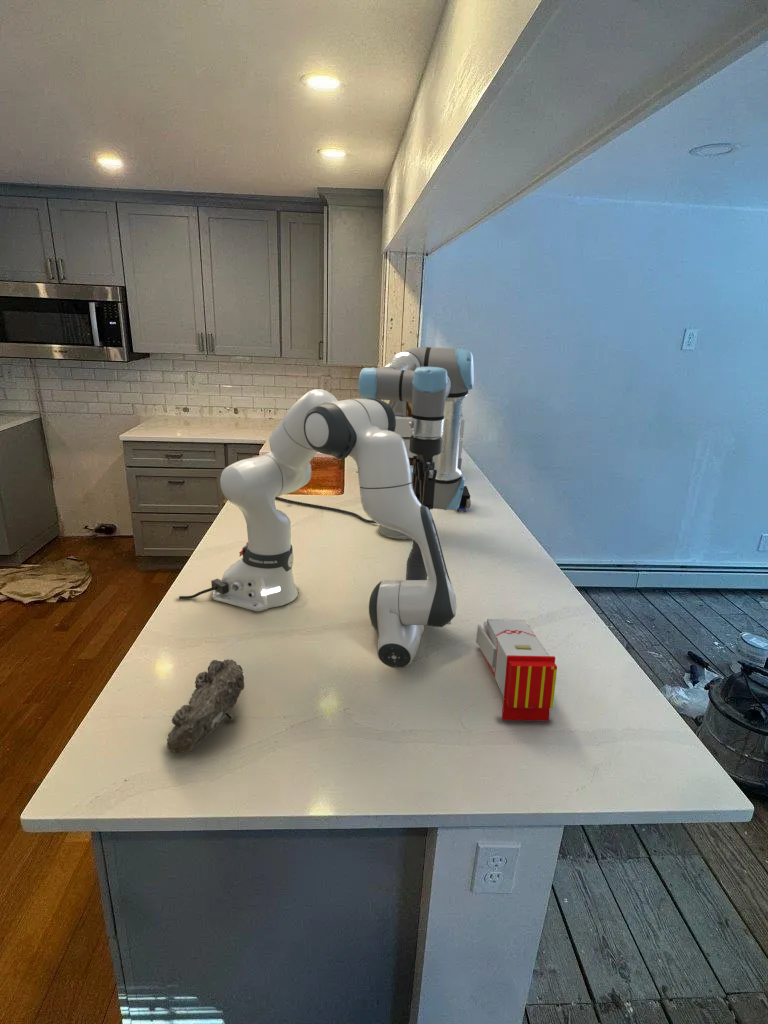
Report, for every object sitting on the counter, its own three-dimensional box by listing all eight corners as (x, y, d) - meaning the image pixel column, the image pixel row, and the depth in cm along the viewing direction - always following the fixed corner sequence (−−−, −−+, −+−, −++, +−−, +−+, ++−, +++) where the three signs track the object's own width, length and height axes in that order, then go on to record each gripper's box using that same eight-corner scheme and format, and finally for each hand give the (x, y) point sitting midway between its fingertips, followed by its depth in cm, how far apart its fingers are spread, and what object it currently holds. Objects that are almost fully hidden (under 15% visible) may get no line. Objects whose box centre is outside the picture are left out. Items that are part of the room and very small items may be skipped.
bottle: (399, 614, 147) (403, 540, 140) (413, 608, 151) (418, 535, 144) (413, 623, 144) (419, 546, 136) (428, 616, 147) (434, 541, 140)
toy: (523, 604, 135) (566, 662, 106) (518, 656, 138) (559, 727, 109) (472, 603, 135) (501, 661, 105) (468, 655, 138) (496, 726, 108)
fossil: (192, 660, 117) (244, 628, 112) (224, 691, 120) (276, 661, 115) (142, 746, 98) (202, 712, 93) (182, 779, 101) (242, 748, 96)
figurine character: (470, 516, 223) (465, 500, 237) (473, 499, 220) (467, 484, 233) (453, 516, 223) (449, 500, 236) (455, 498, 220) (451, 483, 233)
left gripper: (452, 613, 130) (457, 587, 143) (365, 601, 134) (378, 576, 147) (449, 637, 132) (455, 609, 145) (364, 624, 136) (377, 598, 149)
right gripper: (402, 427, 138) (398, 517, 147) (419, 445, 123) (412, 544, 131) (432, 428, 140) (426, 516, 148) (452, 445, 124) (444, 543, 132)
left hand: (415, 592), depth 146 cm, fingers closed on bottle, 5 cm apart
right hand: (420, 529), depth 139 cm, fingers closed on cap, 4 cm apart
